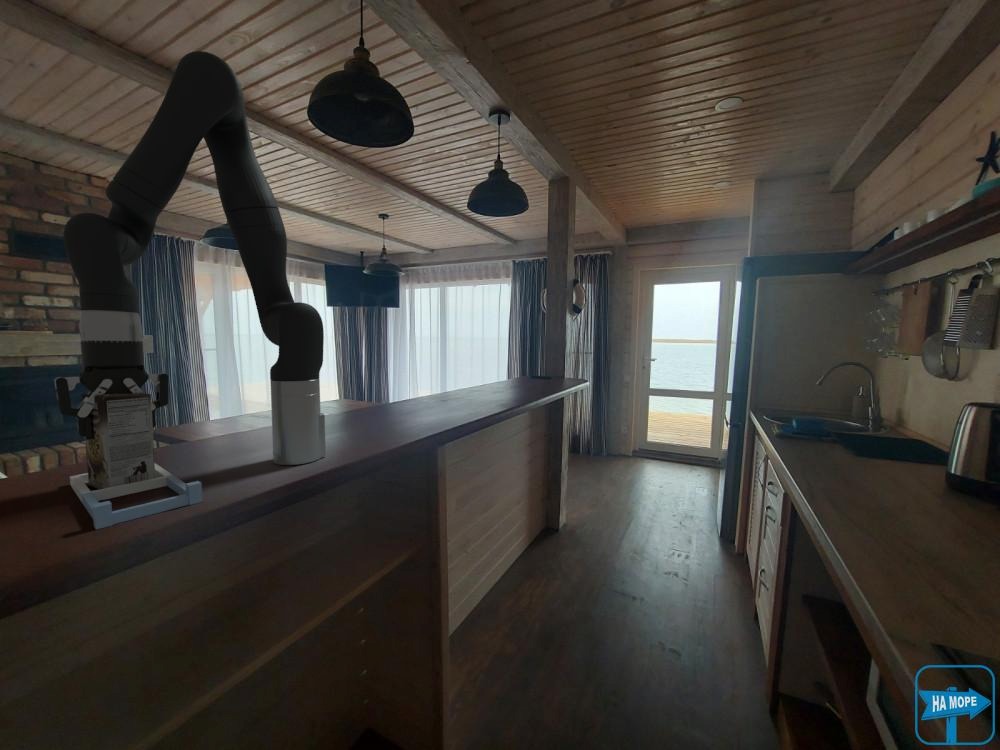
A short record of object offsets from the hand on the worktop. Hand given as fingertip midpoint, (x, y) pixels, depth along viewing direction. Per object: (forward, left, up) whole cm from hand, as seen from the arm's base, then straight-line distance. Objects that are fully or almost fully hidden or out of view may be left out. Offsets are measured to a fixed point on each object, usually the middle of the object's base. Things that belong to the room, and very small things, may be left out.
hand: (119, 434), depth 67 cm
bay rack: (0, +6, -9) cm, 11 cm away
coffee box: (0, 0, -9) cm, 9 cm away
